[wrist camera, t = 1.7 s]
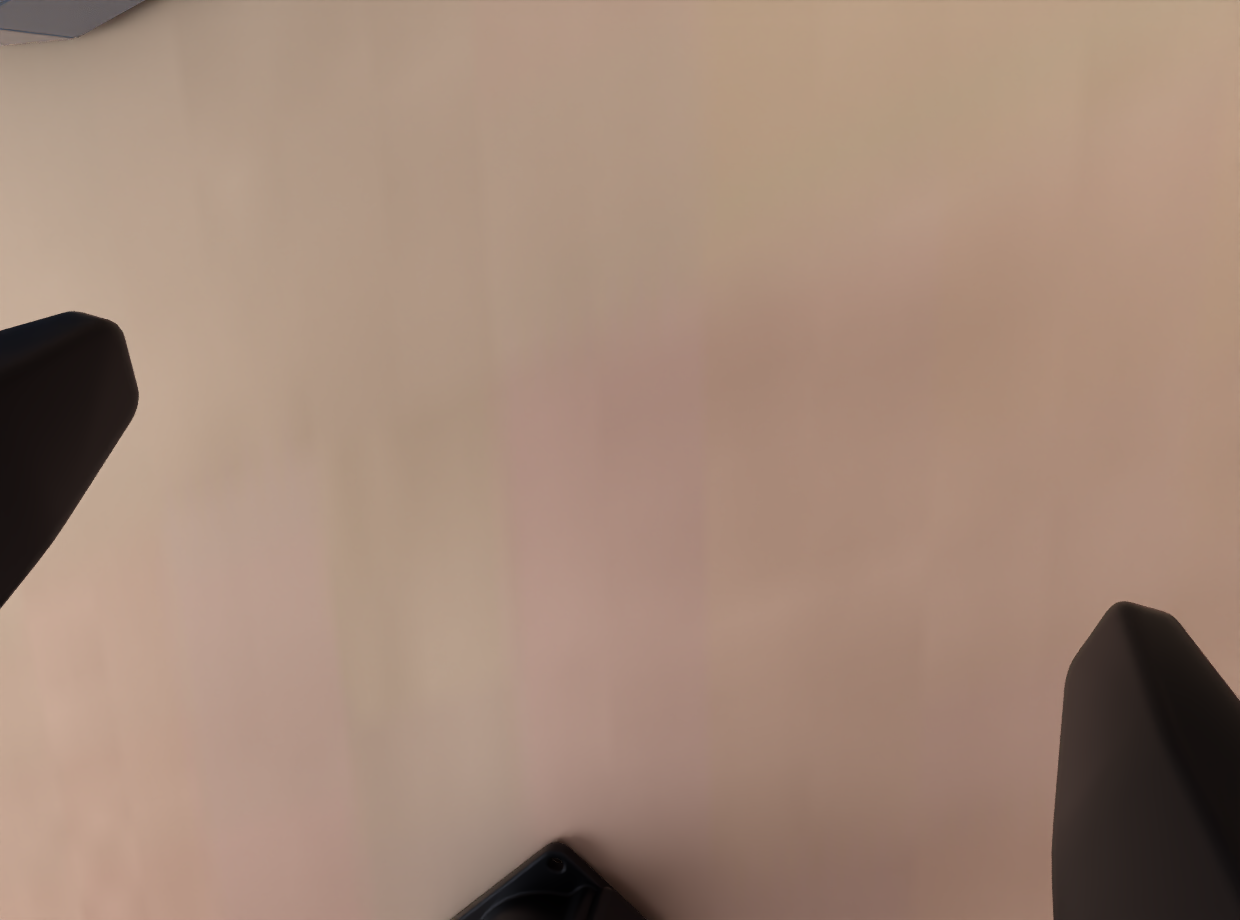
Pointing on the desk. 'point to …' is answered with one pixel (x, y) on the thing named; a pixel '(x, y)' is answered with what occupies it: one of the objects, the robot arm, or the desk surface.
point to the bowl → (55, 18)
